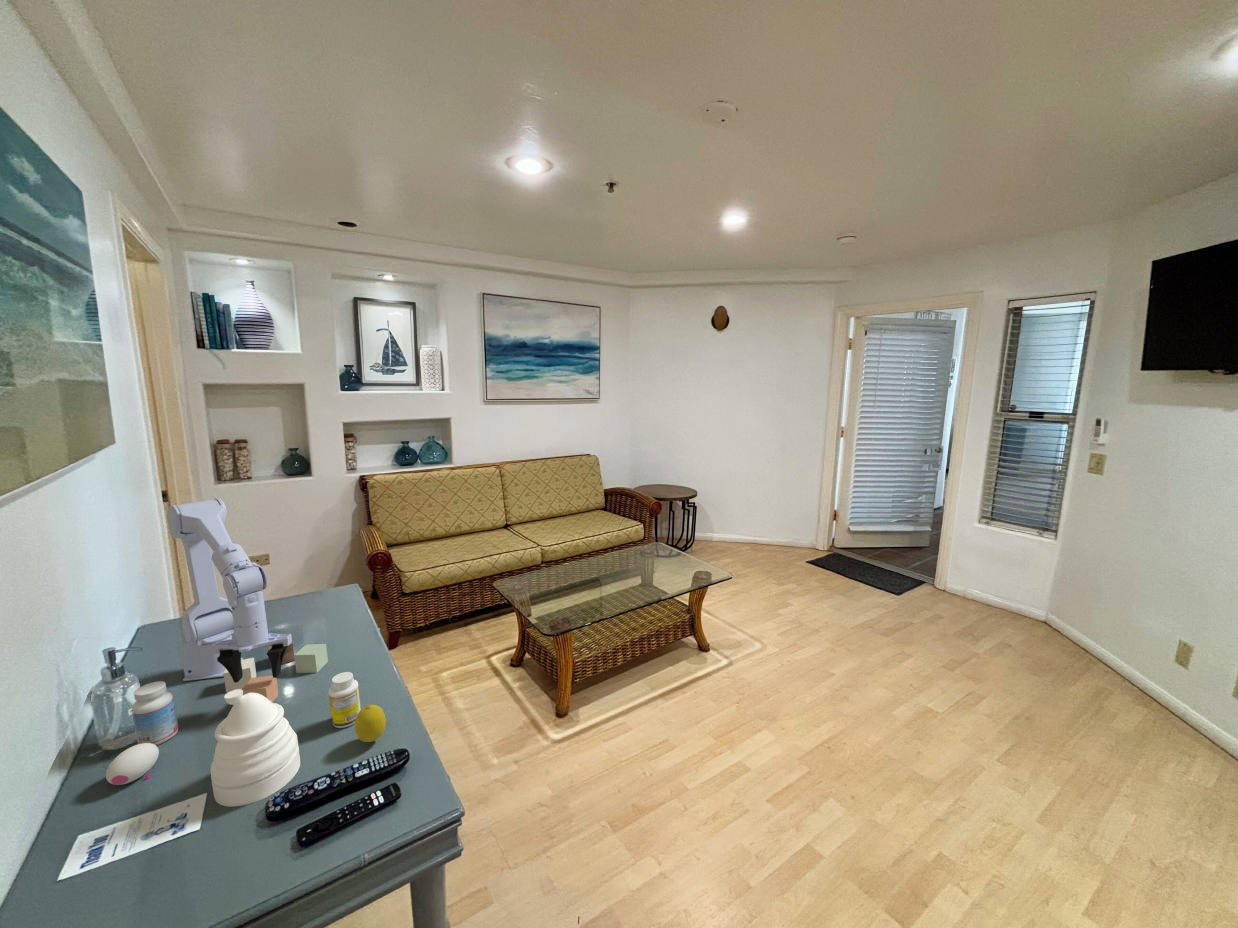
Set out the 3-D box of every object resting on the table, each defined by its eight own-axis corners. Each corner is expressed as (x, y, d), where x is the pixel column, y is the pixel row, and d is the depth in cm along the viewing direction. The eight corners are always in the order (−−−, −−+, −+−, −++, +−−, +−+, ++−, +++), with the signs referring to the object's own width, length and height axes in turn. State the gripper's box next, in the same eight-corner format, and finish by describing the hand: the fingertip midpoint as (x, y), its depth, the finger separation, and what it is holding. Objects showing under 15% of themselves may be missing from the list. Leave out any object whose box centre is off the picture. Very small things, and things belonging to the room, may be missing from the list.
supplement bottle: (340, 712, 107) (336, 669, 105) (366, 711, 107) (362, 668, 105) (326, 729, 101) (321, 685, 100) (353, 729, 102) (349, 684, 100)
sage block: (296, 673, 121) (294, 655, 121) (308, 662, 126) (306, 644, 126) (317, 672, 122) (314, 654, 121) (327, 661, 127) (326, 643, 126)
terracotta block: (242, 711, 107) (239, 690, 106) (254, 697, 112) (251, 677, 111) (268, 708, 108) (265, 687, 108) (278, 694, 113) (276, 674, 112)
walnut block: (271, 668, 123) (269, 650, 123) (268, 660, 127) (266, 643, 126) (294, 661, 127) (292, 643, 126) (291, 653, 130) (289, 636, 130)
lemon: (356, 755, 94) (352, 718, 93) (356, 737, 99) (353, 701, 98) (387, 745, 97) (384, 709, 96) (386, 728, 102) (383, 693, 100)
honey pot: (232, 819, 81) (217, 721, 78) (201, 785, 87) (187, 695, 84) (313, 767, 91) (303, 680, 88) (281, 741, 98) (270, 660, 95)
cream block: (226, 692, 114) (223, 673, 113) (231, 681, 118) (228, 662, 117) (252, 686, 116) (249, 667, 115) (256, 675, 120) (254, 657, 120)
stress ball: (148, 776, 93) (126, 749, 93) (178, 756, 92) (156, 729, 92) (104, 809, 86) (80, 780, 85) (136, 787, 85) (112, 757, 85)
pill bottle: (184, 732, 101) (176, 683, 99) (147, 752, 95) (137, 700, 93) (169, 724, 103) (161, 675, 101) (131, 742, 98) (122, 692, 96)
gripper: (201, 633, 102) (210, 692, 104) (279, 625, 105) (286, 683, 107) (220, 618, 108) (228, 674, 111) (292, 611, 112) (299, 665, 114)
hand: (257, 677), depth 109 cm, fingers open, 7 cm apart
